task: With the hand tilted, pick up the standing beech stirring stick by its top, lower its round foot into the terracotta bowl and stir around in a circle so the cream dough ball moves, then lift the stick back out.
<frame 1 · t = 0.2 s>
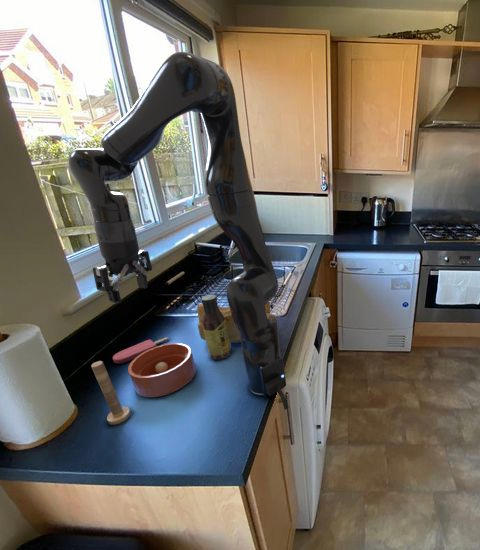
hand: (130, 294, 81), 24 cm above the worktop, tool pointing down, fingers open, 8 cm apart
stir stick: (119, 417, 73), on the worktop
popsicle: (143, 351, 97), on the worktop
dough ball: (161, 367, 86), point 2 cm above the worktop, touching mixing bowl
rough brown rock: (243, 333, 106), on the worktop
sauce bottle: (221, 354, 95), on the worktop
mixing bowl: (167, 379, 85), on the worktop
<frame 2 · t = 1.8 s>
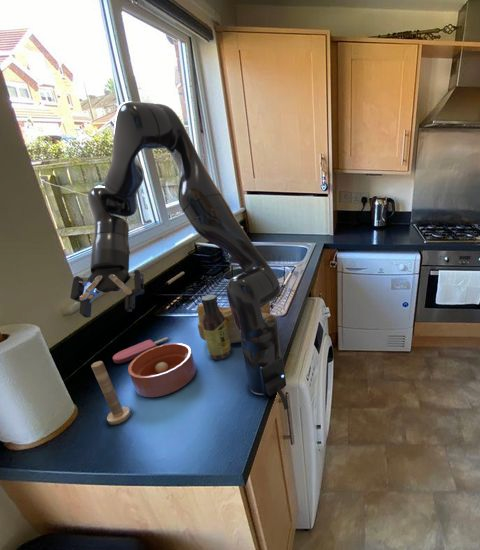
hand: (107, 313, 74), 22 cm above the worktop, tool tilted 45°, fingers open, 8 cm apart
nothing on the worktop moved.
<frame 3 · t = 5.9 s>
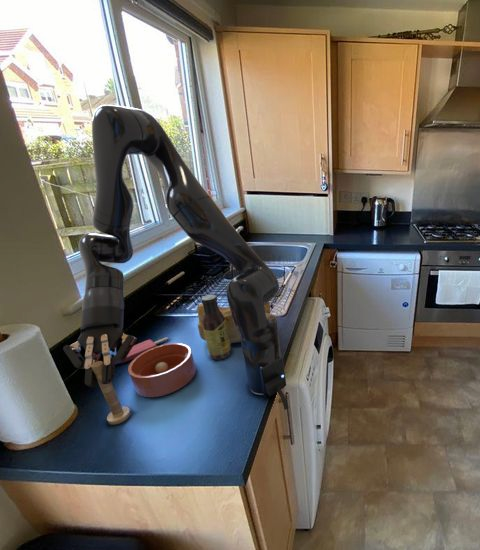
hand: (99, 384, 66), 12 cm above the worktop, tool tilted 45°, fingers closed on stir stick, 2 cm apart
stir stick: (119, 417, 73), on the worktop, touching gripper
everything else where it was.
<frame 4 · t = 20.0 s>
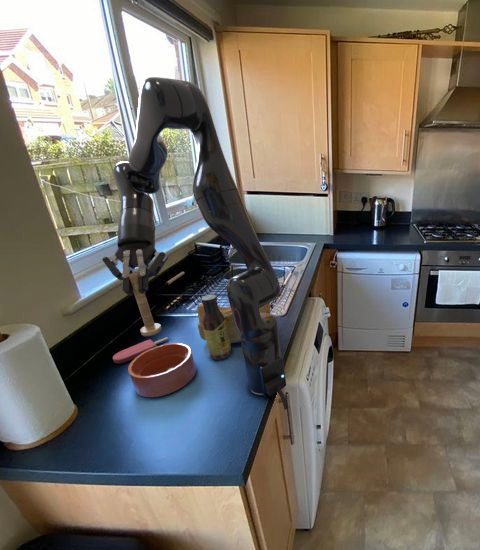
hand: (135, 293, 72), 28 cm above the worktop, tool tilted 45°, fingers closed on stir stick
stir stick: (151, 331, 78), point 16 cm above the worktop, touching gripper
dough ball: (172, 373, 84), point 2 cm above the worktop, tilted 144°, touching mixing bowl
everything else where it was.
at the end: dough ball moved 5.3 cm from its start; dough ball inside the target area in the mixing bowl (2.1 cm from its centre), point 2.1 cm above the mixing bowl's base; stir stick point 15.9 cm above the worktop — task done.
